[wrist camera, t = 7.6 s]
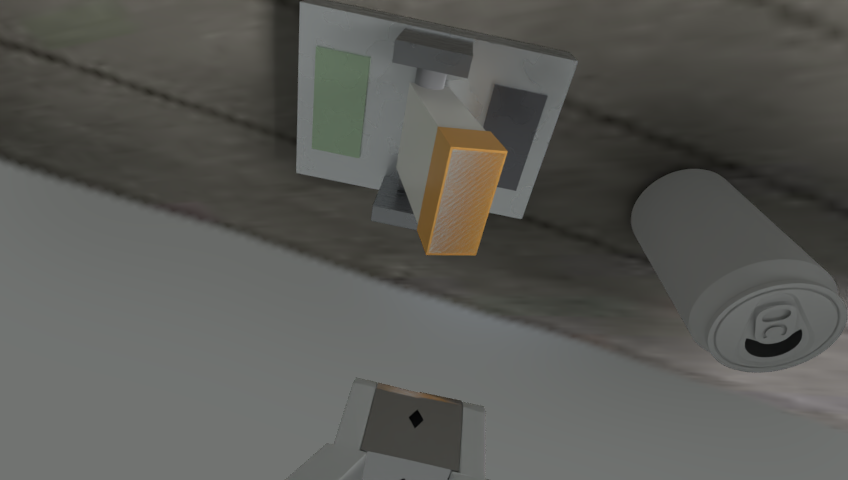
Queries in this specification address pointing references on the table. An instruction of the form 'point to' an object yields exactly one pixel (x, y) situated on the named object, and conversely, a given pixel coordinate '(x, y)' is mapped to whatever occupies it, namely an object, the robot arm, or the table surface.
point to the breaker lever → (447, 167)
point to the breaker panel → (388, 89)
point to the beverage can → (736, 274)
